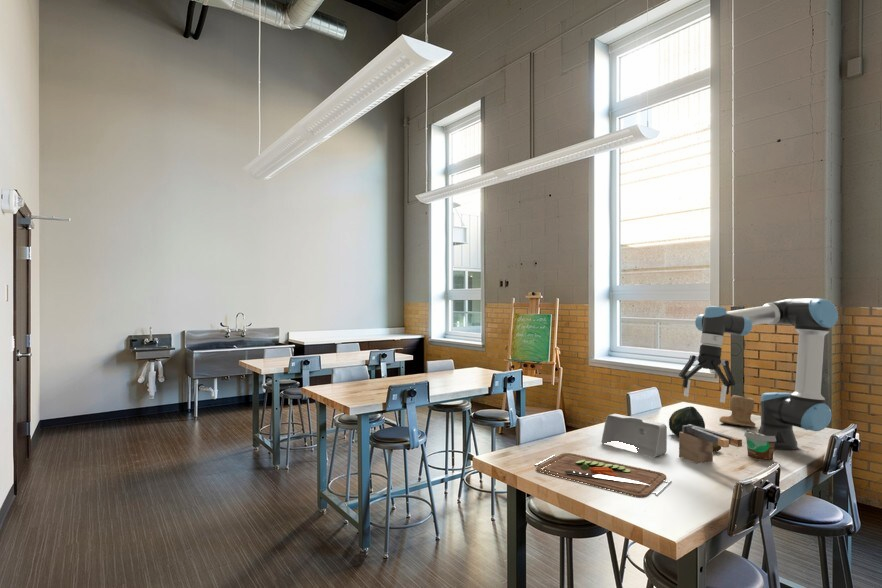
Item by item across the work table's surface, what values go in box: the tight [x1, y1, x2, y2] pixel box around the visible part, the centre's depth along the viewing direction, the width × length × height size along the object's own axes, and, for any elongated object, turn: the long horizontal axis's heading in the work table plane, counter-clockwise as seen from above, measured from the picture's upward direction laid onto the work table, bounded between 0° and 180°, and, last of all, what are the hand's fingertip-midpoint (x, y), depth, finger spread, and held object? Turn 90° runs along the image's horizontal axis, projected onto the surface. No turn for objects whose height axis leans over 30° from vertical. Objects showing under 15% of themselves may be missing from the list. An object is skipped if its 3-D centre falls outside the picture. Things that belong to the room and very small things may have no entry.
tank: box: [601, 413, 668, 459], centre depth 217 cm, size 25×16×12 cm, turn 39°
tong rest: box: [678, 425, 743, 464], centre depth 195 cm, size 8×23×13 cm, turn 20°
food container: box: [743, 428, 776, 462], centre depth 204 cm, size 12×6×10 cm, turn 21°
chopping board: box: [535, 452, 672, 498], centre depth 184 cm, size 45×27×3 cm, turn 51°
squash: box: [668, 405, 706, 437], centre depth 235 cm, size 14×15×15 cm
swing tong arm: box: [686, 424, 730, 448], centre depth 193 cm, size 2×21×3 cm, turn 10°
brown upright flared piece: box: [719, 394, 756, 427], centre depth 257 cm, size 15×12×15 cm
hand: (704, 399), depth 197 cm, fingers open, 13 cm apart
